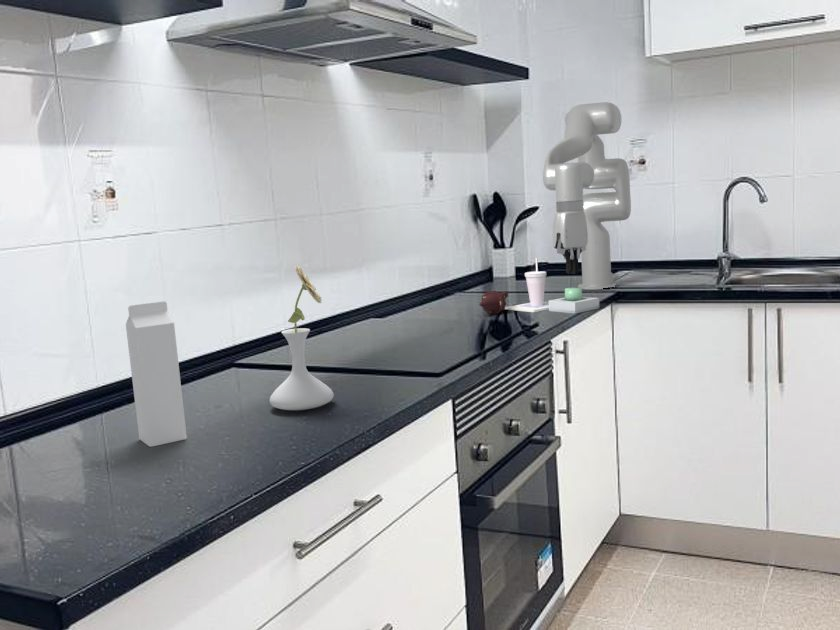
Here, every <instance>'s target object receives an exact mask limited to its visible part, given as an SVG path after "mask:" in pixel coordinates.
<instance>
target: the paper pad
mask: <svg viewBox="0 0 840 630" xmlns="http://www.w3.org/2000/svg"><path fill="white" fill-rule="evenodd" d="M504 310H509V311H516V312H517V311H518V312H526V313H527V312H528V313H537V312H543V311H549V301H543V305H541V306H531V304H530V302H526V303H521V304H515V305H509V306H505V309H504Z"/></svg>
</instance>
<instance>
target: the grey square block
mask: <svg viewBox="0 0 840 630" xmlns="http://www.w3.org/2000/svg"><path fill="white" fill-rule="evenodd" d="M548 302H549V310H548V312H554V313H555V312H557V313H566V314H576V315H577V314H579V313H585V312H588V311H589V312H591V311H594V310H598V309H600V298H599V297H592V296H591V297H589V296H588V297H587V296H582V300H579V301H565V297H560V298H559V297H558V298H556V299H549V300H548Z"/></svg>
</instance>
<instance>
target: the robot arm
mask: <svg viewBox="0 0 840 630" xmlns="http://www.w3.org/2000/svg"><path fill="white" fill-rule="evenodd" d="M564 122H565V131H564V136H563V139H561V140H560V141H559V142H558V143H556V144H555V145H554V146H553V147H552V148H551V149H550V150H549V151H548V153H547V154H546V157H545V161H544V164H543V170H542V171H543V173H542V180H543V185H544V187H545V188H546V189H547V190H550V191H555V203H556V205H555V207H556V208H555V209H556V213H554V216H553V223H552V246H553V248H554V249H556V253H557V254H559V255H562V256H563V259H564V260H565V272H566V274H572V275H573V274H579V259H581V275H582V276H581V277H582V278H581V280H582V283H579V284H578V285H577V287H579V288H582V290H587V291H592V290H593V291H595V290H598V291H599V290H604V289H603V288H608V287H612V286H615V285H616V286H617V283H616V282H614V280H619V279H620V277H621V275H620V274H619V273H613V272H612V264H611V238H610V233H609V231H608V230H607V228H606V227H605V226H604V225H603V223H604V222H616V221H619V222H620V221H625V220H628V219H629V218H630V216H631V212H632V202H631V201H632V200H631V198H632V197H631V183H630V182H631V181H630V170H629V165H628V163H627V161H626V160H625V159H623V158H618V157H617V158H606V156H605V144H604V141H603V140H602V138H601V137H600V136H599V135H608V134H616V133H618V132H619V131H620V129H621V126H622V114H621V110H620V109H619V107H618V106H617V105H616V104H614V103H611V102H607V101H606V102H605V101H603V102H593V103H583V104H577V105H575V106H572V107H571V108H570V110H569V111H567V113H566V114H565V118H564ZM576 159H577V161H578V162H570V161H572V160H576ZM584 189H586V190H603V189H605V190H606V189H613V190H615V191H610V192H609V191H608V192H607V191H605V192H590V193H585V194H584ZM580 256H581V257H580Z"/></svg>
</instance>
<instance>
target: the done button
mask: <svg viewBox="0 0 840 630" xmlns="http://www.w3.org/2000/svg"><path fill="white" fill-rule="evenodd" d="M582 297H583V289H582V288H579V287H578V286H577V287H566V288H564V298H565V301H579V300H582Z"/></svg>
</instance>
